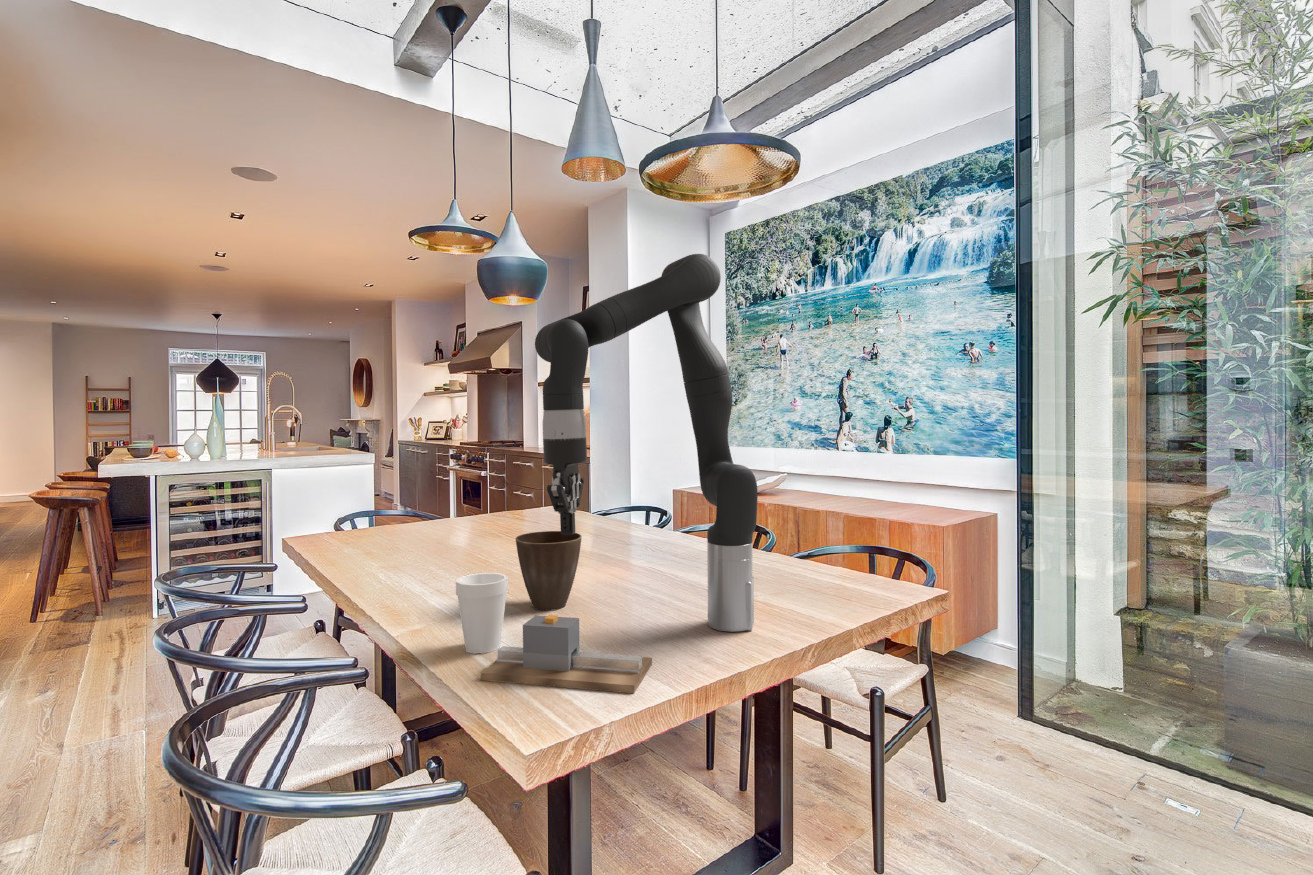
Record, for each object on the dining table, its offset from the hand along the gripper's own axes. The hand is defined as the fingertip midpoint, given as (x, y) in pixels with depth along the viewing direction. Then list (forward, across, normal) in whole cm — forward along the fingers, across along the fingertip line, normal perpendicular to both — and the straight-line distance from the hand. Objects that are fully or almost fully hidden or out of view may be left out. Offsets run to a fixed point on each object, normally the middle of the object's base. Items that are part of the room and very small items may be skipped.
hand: (568, 534), depth 114 cm
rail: (+21, -5, -1) cm, 22 cm away
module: (+21, -5, +2) cm, 22 cm away
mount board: (+22, -6, -1) cm, 23 cm away
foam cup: (+22, +3, +19) cm, 29 cm away
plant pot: (+23, +31, +16) cm, 42 cm away
